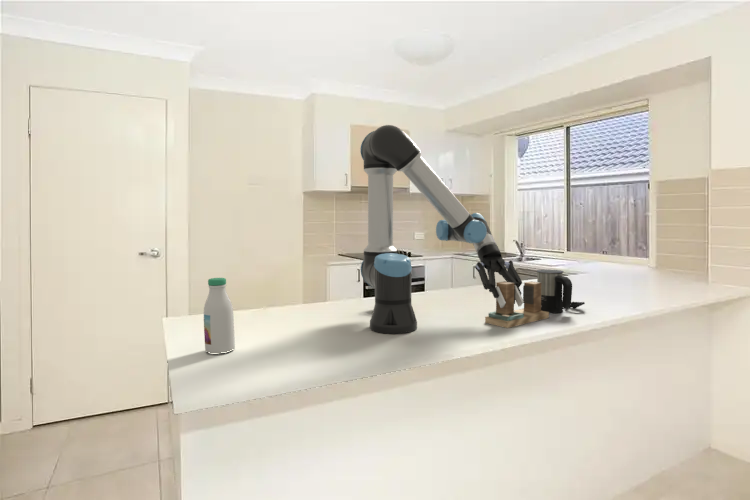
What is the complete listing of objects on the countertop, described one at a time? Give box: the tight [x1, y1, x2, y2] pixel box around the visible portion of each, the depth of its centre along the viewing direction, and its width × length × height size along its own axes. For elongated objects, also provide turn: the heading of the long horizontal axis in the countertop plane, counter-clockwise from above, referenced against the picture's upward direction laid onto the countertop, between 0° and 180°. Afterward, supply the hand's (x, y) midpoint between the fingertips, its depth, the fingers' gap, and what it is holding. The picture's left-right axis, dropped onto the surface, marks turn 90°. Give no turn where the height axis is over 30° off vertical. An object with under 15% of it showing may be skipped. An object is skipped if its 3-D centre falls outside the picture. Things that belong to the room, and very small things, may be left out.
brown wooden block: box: [495, 280, 516, 315], centre depth 150 cm, size 5×4×10 cm
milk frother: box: [536, 269, 585, 314], centre depth 167 cm, size 14×16×15 cm
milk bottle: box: [203, 277, 236, 353], centre depth 124 cm, size 8×8×20 cm
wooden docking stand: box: [484, 281, 550, 329], centre depth 153 cm, size 22×9×12 cm, turn 125°
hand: (512, 304), depth 146 cm, fingers closed on brown wooden block, 6 cm apart
